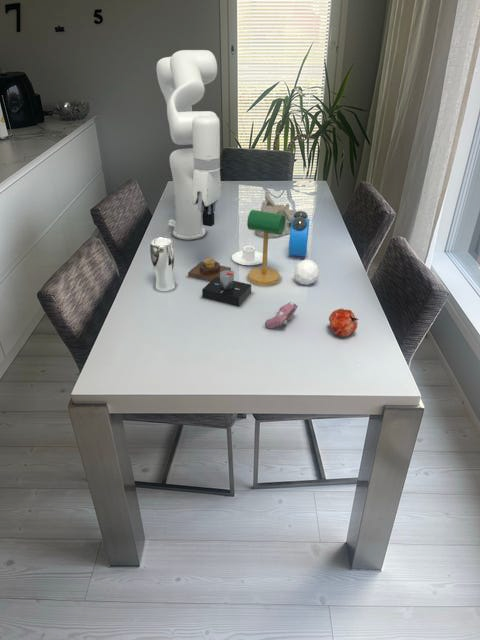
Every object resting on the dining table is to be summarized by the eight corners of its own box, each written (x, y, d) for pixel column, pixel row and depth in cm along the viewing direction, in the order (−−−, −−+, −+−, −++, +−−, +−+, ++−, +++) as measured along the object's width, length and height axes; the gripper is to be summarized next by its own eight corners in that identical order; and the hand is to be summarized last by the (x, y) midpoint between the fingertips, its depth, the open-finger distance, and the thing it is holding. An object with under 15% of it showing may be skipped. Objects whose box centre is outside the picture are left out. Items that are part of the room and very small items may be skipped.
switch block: (188, 276, 148) (187, 267, 146) (201, 265, 155) (201, 256, 153) (218, 284, 144) (218, 274, 143) (231, 272, 151) (231, 262, 149)
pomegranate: (322, 341, 123) (348, 336, 114) (316, 314, 123) (341, 308, 114) (343, 335, 127) (369, 330, 118) (336, 310, 127) (362, 303, 118)
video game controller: (275, 336, 123) (287, 320, 118) (262, 325, 124) (273, 309, 119) (291, 319, 130) (303, 304, 125) (279, 309, 131) (290, 293, 126)
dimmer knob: (217, 288, 136) (217, 273, 133) (223, 282, 139) (223, 268, 136) (230, 291, 134) (230, 276, 132) (235, 285, 138) (236, 270, 135)
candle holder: (248, 249, 167) (249, 238, 164) (273, 259, 160) (274, 248, 157) (224, 259, 160) (224, 247, 157) (249, 270, 153) (249, 258, 150)
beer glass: (158, 294, 139) (153, 248, 130) (150, 284, 144) (146, 239, 136) (179, 289, 141) (176, 243, 133) (171, 279, 147) (168, 235, 138)
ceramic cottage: (251, 235, 177) (255, 197, 169) (260, 222, 191) (264, 186, 183) (291, 242, 174) (297, 203, 167) (297, 228, 188) (303, 191, 180)
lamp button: (202, 267, 147) (201, 262, 146) (207, 262, 150) (207, 257, 149) (212, 269, 146) (211, 264, 145) (217, 264, 149) (217, 259, 148)
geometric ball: (309, 292, 146) (317, 282, 138) (287, 281, 146) (293, 270, 139) (318, 274, 149) (326, 262, 141) (296, 263, 149) (303, 251, 141)
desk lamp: (243, 282, 146) (244, 215, 134) (255, 269, 153) (257, 205, 141) (272, 288, 142) (276, 220, 130) (283, 275, 150) (288, 210, 138)
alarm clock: (305, 263, 157) (309, 221, 149) (287, 261, 158) (290, 220, 150) (306, 247, 168) (310, 208, 160) (290, 246, 169) (292, 207, 161)
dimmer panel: (202, 298, 137) (202, 288, 135) (216, 285, 144) (215, 276, 142) (238, 307, 133) (239, 297, 131) (251, 293, 140) (251, 284, 138)
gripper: (207, 156, 138) (209, 215, 147) (182, 168, 126) (185, 231, 136) (230, 159, 135) (230, 219, 145) (206, 171, 123) (208, 235, 133)
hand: (208, 224), depth 140 cm, fingers closed
